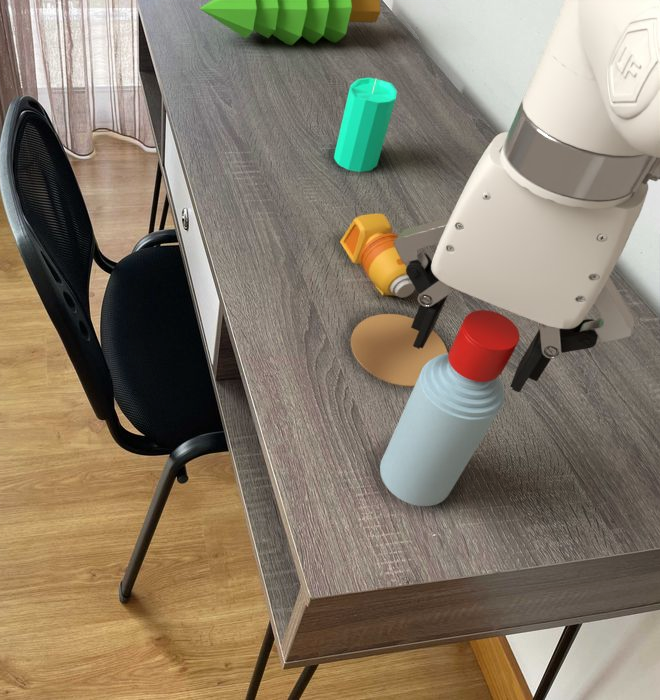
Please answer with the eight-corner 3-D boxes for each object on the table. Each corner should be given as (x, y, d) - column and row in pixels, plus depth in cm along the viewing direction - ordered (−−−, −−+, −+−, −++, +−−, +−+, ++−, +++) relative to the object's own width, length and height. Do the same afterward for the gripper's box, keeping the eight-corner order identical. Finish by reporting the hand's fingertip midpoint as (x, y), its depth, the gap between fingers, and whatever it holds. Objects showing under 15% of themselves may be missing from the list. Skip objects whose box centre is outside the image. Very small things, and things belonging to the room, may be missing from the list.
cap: (511, 362, 54) (530, 330, 52) (486, 391, 52) (504, 359, 50) (463, 334, 56) (479, 302, 54) (438, 361, 54) (453, 328, 52)
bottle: (460, 469, 67) (543, 329, 53) (436, 521, 63) (519, 385, 49) (394, 436, 69) (459, 293, 55) (367, 485, 65) (429, 344, 51)
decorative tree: (393, -33, 115) (208, -34, 107) (385, 46, 120) (208, 51, 112) (359, -31, 124) (188, -31, 117) (353, 43, 129) (189, 46, 122)
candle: (357, 145, 102) (378, 62, 93) (386, 167, 99) (411, 83, 90) (324, 156, 100) (342, 72, 91) (352, 179, 97) (374, 94, 88)
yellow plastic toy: (421, 306, 81) (376, 236, 89) (436, 269, 77) (388, 199, 85) (377, 313, 80) (335, 242, 88) (390, 275, 76) (345, 204, 83)
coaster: (460, 345, 77) (462, 341, 77) (424, 405, 72) (426, 401, 71) (374, 304, 81) (375, 300, 80) (333, 358, 75) (334, 354, 75)
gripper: (747, 169, 41) (598, 374, 54) (448, 75, 46) (379, 283, 60) (738, 240, 37) (578, 445, 50) (408, 127, 42) (343, 340, 55)
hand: (470, 355), depth 55 cm, fingers open, 6 cm apart
